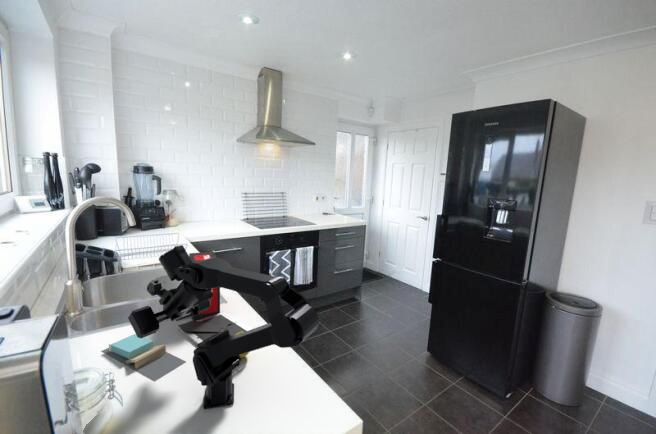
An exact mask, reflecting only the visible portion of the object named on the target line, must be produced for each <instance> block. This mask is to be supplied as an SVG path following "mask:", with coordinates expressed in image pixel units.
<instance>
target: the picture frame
mask: <svg viewBox="0 0 656 434" xmlns="http://www.w3.org/2000/svg"><path fill="white" fill-rule="evenodd" d="M227 329H228V330H229V334H231V335H232V336H234V335H235V334H237V333H239V332H241V331H242V332H246V331H248V330H251V329H252V328H250V327H249V326H247V325H245V324H244V323H242V322H241V321H239V320H237V319H236V318H234V317H232V316H231V315H229V314H228V313H225V312H224V311H220V313H217V314H215V315H212V316H209V317H206V318H203V319H201V320H196V321H194V320H193V319H192V320H191V321H187V322H184V323H181V324H179V325H178V331H179V333H181V334H182V335H184V336H185V337H186V338H187V339H188V340H190V341H191V342H192V343H194V345H196V346H197V344H199V343H201V342H202V341H204V340H206V339H207V338H209V337H211V336H213V335H214V334H216V333H218V332H223V331H225V330H227Z"/></svg>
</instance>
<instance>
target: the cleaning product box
mask: <svg viewBox="0 0 656 434" xmlns="http://www.w3.org/2000/svg"><path fill="white" fill-rule="evenodd" d="M188 256H189V257H190V259H191V260H192V262H197V261H202V260H205V259H209V258H212V257H217V255H216V253H215V251H203V252H192V253H189V254H188ZM211 291H212V293H213V298H211V299H209V300H210V301H211V306H210V307H209V308H208V310H206V311H203V312H202V313H199V314H197V315H195V316H192V321H193V320H194V321H198V320H201V319H203V318H206V317H209V316H212V315H215V314H217V313H220V312H221V288H211Z"/></svg>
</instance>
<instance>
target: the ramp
mask: <svg viewBox="0 0 656 434" xmlns="http://www.w3.org/2000/svg"><path fill="white" fill-rule="evenodd" d="M154 346H155V345H154ZM166 347H167V346H166V344H160V345H156V346H155V347H154V348H152V349H150V350H148V351H146V352H144V353H142V354H140V355H138V356H136V357H134V358H132V359H129V360H127V361H126V363H127V364H128V363H133V362H135V368H136V369H138V368H140V367H142V366H143V365H145V364H147V363H149V362H151V361H153V360H154V359H156V358H158V357H160V356H162V355H164V354H165V353H166V352H167V351H166V349H167V348H166Z"/></svg>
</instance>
